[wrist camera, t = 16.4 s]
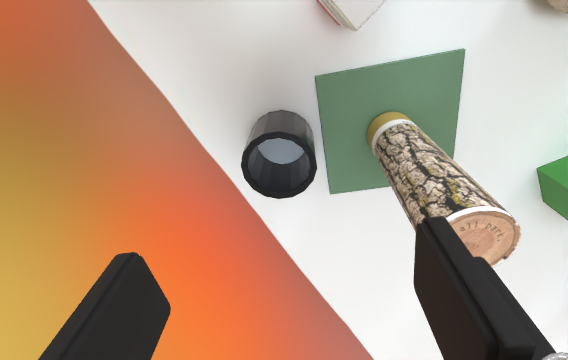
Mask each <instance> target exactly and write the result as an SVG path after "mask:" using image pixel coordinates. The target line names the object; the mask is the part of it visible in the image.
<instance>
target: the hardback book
mask: <svg viewBox="0 0 568 360" xmlns="http://www.w3.org/2000/svg"><path fill="white" fill-rule="evenodd" d="M537 172H538V177H539V182H540V187H541V192H542V197H543V202H545V203H546V204H547V205H549V206H550V207H551V208H552V209H554V210H555V211H556V212H558V213H559V214H560V215H562V216H563V217H564V218H565V219H567V220H568V156H567V157H564V158H562V159H559V160H557V161H554V162H552V163H549V164H547V165H544V166H542V167H539V168H537Z"/></svg>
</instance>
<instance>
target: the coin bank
mask: <svg viewBox="0 0 568 360" xmlns="http://www.w3.org/2000/svg"><path fill="white" fill-rule="evenodd" d="M547 1H548V3H549V4H550V5H552V6H553V7H554V8H555V9H557V10H559V11H562V12H564V13H568V0H547Z"/></svg>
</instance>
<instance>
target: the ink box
mask: <svg viewBox="0 0 568 360" xmlns="http://www.w3.org/2000/svg"><path fill="white" fill-rule="evenodd" d="M317 1H318V2H319V3H320V5H321V6H322V7H323V8H324V9H325V10H326V12H327V13H328V14H329V15H330V16H331V17H332V18H333V20H334V21H335V22H336V23H337V24H338V25H340V26H343V27H345V28H348V29H351V30H353V31H357V30H358V29H359V28H360V27H361V26H362V25H363V24H364V22H365V21H366V20H367V19H368V18H369V17H370V16H371V15H372V14H373V13H374V12H375V11H376V10H377V9H378V8H379V7H380V6H381V5H382V4H383V3H384V2H385V1H386V0H317Z"/></svg>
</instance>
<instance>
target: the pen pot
mask: <svg viewBox="0 0 568 360" xmlns="http://www.w3.org/2000/svg"><path fill="white" fill-rule="evenodd" d="M275 138H282V139H287V140H292V141H293V142H295V143H296V144H298V145H299V146H301V147H302V148H303V150H304V151H305V153H304V154H303V155H302V156H301V158H300V159H298V160H296V161H295V162H293V163H290V164H283V165H281V164H276V163H272V162H270V161H268V160H267V159H265V158H264V157H263V156H262V154H261V153H260V152H259V150H258V147H257V145H259V144H260V143H262V142H264V141H265V140H269V139H275ZM241 168H242V171H243V175H244V178H245V180H246V181H247V182H248V183H249V185H250V186H251V187H252V188H253V189H254V190H255V191H257V192H259V193H260V194H262V195H264V196H266V197H271V198H277V199H282V198H289V197H294V196H295V195H297V194H299V193H301V192H303V191H305V190H306V188H307V187H308V186H309V185H310V184H311V183H312V182H313V180H314V177H315V173H316V170H317V164H316V156H315V148H314V140H313V133H312V130H311V128H310V127H309V125H308V123H307V122H306V121H305V120H304V119H303V118H301V117H300V116H299V115H297V114H296V113H293V112H288V111H284V110H280V111H274V112H269V113H268V114H266V115H264V116H263V117H261V118H260V119H259V120H258V121H257V123H256V124H255V126H254V127H253V129H252V131H251V134H250V136H249V139H248V141H247V144H246V147H245V149H244V152H243V156H242V162H241Z"/></svg>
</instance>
